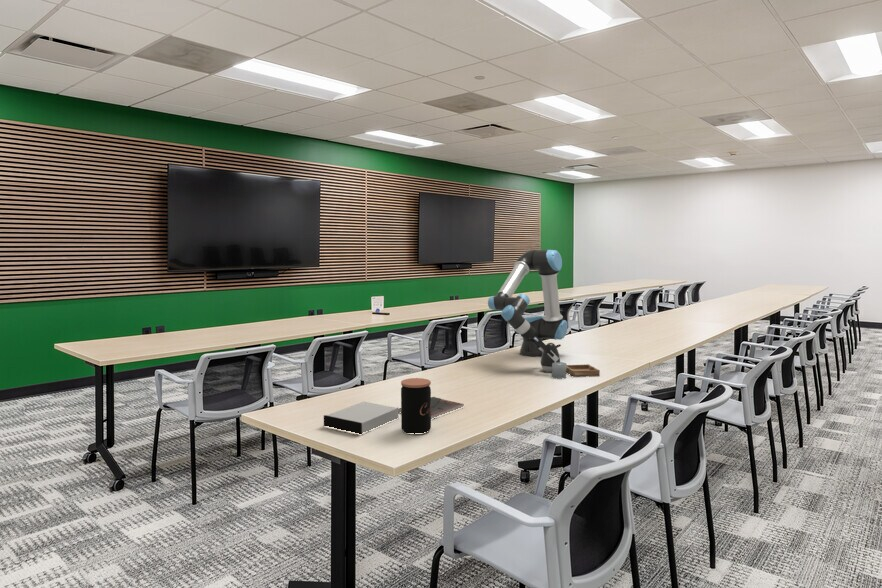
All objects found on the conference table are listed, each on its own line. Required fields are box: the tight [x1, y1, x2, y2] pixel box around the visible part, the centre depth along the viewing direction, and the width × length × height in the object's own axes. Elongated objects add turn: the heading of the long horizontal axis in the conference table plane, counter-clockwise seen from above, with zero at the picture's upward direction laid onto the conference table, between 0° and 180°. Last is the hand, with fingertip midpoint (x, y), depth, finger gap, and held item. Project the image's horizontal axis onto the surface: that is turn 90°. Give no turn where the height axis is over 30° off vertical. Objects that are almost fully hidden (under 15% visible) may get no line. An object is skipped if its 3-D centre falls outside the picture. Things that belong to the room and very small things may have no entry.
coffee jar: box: [400, 377, 432, 434], centre depth 199 cm, size 11×11×18 cm
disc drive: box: [323, 401, 399, 434], centre depth 208 cm, size 18×22×5 cm
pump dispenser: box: [540, 342, 562, 373], centre depth 292 cm, size 10×10×15 cm
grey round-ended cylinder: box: [551, 361, 567, 380], centre depth 280 cm, size 7×7×7 cm
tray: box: [566, 363, 601, 378], centre depth 288 cm, size 14×14×3 cm
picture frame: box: [398, 396, 465, 419], centre depth 224 cm, size 16×2×22 cm
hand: (552, 357), depth 292 cm, fingers open, 13 cm apart
